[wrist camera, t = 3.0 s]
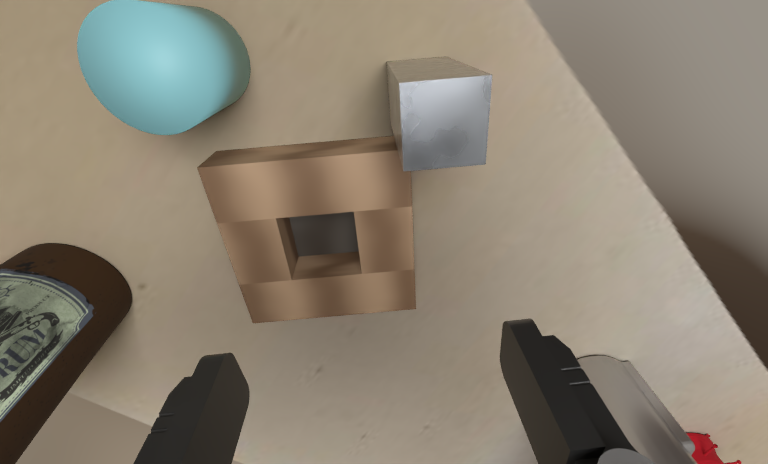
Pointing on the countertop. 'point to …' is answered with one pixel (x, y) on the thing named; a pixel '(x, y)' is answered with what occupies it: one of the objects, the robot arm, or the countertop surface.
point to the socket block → (316, 227)
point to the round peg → (161, 63)
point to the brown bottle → (50, 332)
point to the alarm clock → (705, 450)
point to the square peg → (439, 112)
